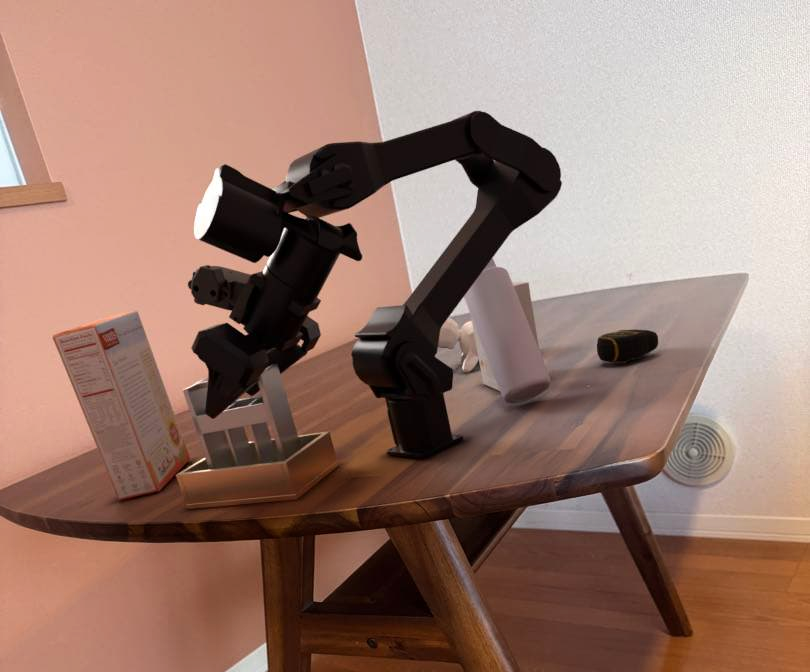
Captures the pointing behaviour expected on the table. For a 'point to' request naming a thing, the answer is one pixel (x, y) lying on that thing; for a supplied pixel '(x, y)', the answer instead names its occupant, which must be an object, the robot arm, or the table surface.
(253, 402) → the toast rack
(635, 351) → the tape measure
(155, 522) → the table surface
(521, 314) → the spray bottle
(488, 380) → the small box
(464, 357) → the beige lumpy shape
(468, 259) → the robot arm
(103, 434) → the cracker box
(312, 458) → the copper metal tray
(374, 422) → the table surface
